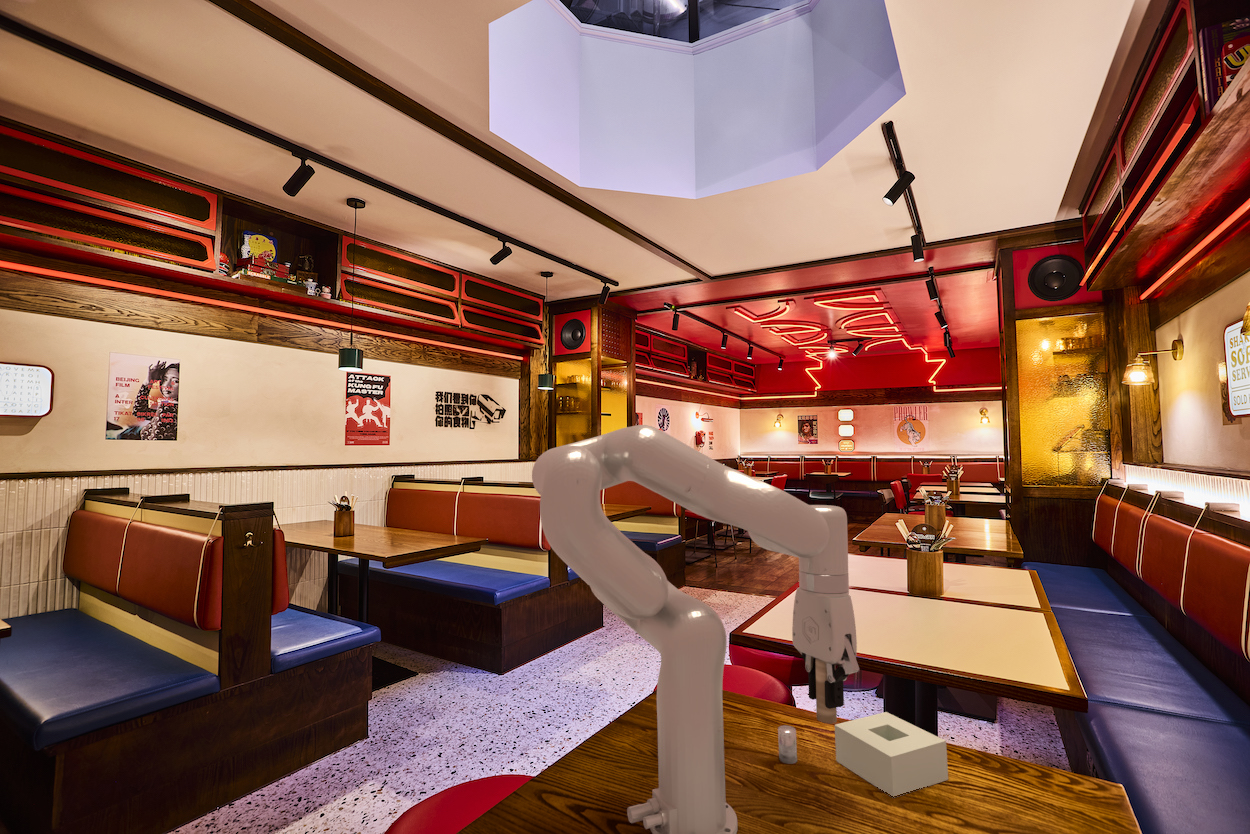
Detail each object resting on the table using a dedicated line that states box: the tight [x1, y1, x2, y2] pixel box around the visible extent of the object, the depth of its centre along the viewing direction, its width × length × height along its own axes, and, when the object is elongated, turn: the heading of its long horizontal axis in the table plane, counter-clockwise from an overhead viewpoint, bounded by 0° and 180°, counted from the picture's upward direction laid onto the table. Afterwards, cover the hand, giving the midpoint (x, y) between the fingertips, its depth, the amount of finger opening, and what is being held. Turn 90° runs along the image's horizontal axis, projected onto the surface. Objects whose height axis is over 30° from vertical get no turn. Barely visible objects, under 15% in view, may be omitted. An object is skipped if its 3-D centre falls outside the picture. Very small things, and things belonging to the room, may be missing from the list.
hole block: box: [834, 711, 949, 798], centre depth 96 cm, size 12×12×6 cm
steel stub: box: [777, 724, 798, 765], centre depth 100 cm, size 3×3×5 cm
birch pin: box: [815, 658, 838, 725], centre depth 91 cm, size 3×3×12 cm
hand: (826, 701), depth 90 cm, fingers closed on birch pin, 3 cm apart
